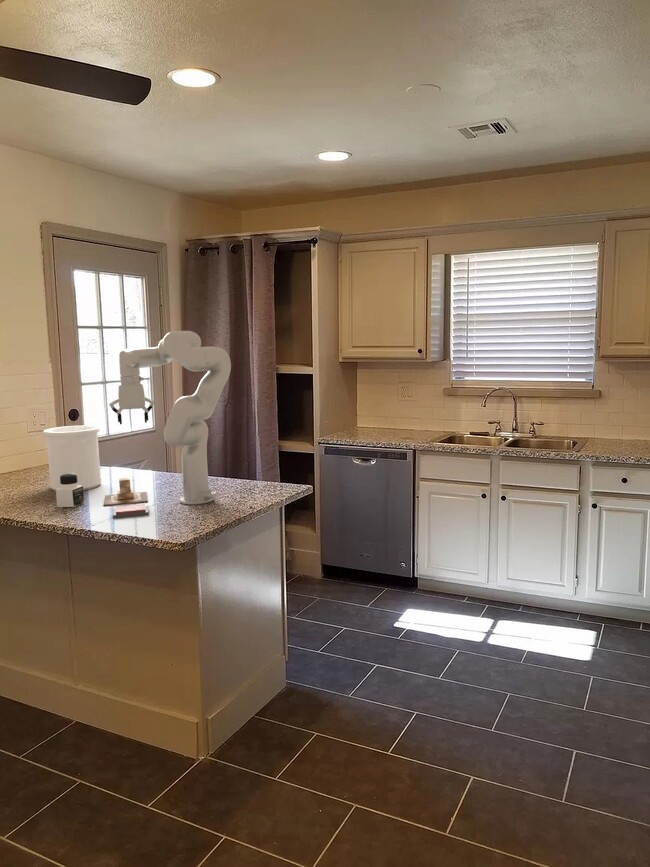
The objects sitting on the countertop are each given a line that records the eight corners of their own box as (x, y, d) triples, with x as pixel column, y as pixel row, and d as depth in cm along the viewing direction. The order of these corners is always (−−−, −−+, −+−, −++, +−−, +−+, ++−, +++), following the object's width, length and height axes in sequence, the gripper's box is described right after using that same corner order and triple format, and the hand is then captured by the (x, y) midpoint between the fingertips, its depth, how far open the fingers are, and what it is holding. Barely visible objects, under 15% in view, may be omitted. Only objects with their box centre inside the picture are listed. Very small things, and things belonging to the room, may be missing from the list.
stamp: (133, 495, 267) (132, 476, 266) (134, 499, 261) (132, 479, 260) (117, 497, 265) (116, 478, 264) (117, 500, 260) (116, 481, 259)
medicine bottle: (74, 508, 253) (71, 476, 251) (56, 507, 254) (54, 476, 252) (84, 503, 260) (82, 472, 258) (67, 502, 261) (65, 472, 259)
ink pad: (148, 508, 248) (147, 503, 248) (148, 515, 239) (148, 509, 239) (113, 511, 245) (113, 506, 245) (113, 518, 236) (112, 513, 235)
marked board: (146, 493, 273) (146, 491, 273) (147, 502, 258) (147, 500, 258) (105, 496, 269) (104, 495, 269) (103, 506, 254) (103, 504, 254)
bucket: (107, 489, 282) (103, 429, 279) (50, 496, 273) (44, 434, 269) (99, 478, 305) (95, 423, 302) (46, 484, 296) (41, 427, 292)
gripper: (152, 378, 275) (155, 420, 277) (107, 380, 270) (111, 423, 273) (153, 380, 268) (156, 422, 270) (107, 382, 263) (110, 425, 265)
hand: (133, 423), depth 271 cm, fingers open, 9 cm apart
